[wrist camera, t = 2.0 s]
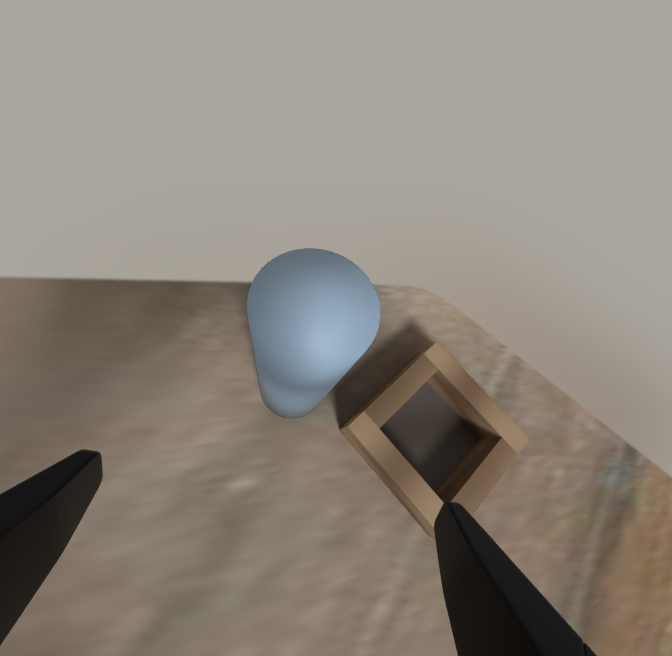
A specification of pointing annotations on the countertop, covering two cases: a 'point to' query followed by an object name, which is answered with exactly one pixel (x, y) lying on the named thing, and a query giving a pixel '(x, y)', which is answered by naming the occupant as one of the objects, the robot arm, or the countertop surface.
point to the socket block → (435, 437)
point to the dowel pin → (308, 326)
